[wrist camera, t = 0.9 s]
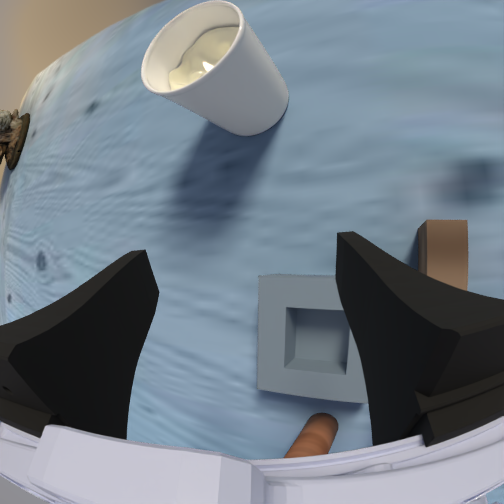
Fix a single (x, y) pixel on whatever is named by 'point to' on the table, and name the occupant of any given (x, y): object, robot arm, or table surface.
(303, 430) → the dowel
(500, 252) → the table surface
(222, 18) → the candle holder
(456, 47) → the table surface
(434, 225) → the walnut wall
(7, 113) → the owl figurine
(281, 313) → the socket block
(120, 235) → the table surface
